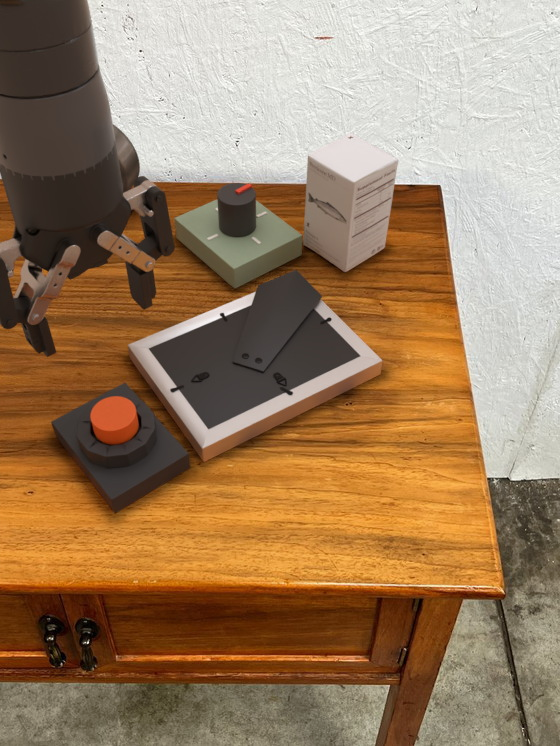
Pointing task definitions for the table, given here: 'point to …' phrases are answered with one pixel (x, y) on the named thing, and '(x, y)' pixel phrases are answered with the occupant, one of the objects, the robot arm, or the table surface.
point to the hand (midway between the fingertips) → (96, 325)
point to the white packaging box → (348, 200)
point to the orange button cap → (114, 420)
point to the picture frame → (253, 364)
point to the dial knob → (237, 209)
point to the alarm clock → (126, 159)
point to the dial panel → (238, 243)
